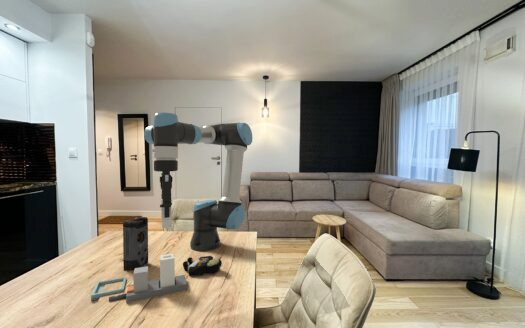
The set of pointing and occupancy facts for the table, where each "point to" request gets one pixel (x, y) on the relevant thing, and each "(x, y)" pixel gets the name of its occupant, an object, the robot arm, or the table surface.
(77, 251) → the table surface
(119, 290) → the tray
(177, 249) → the table surface
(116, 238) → the table surface
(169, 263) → the charger
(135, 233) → the electronic device
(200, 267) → the toy
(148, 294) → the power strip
